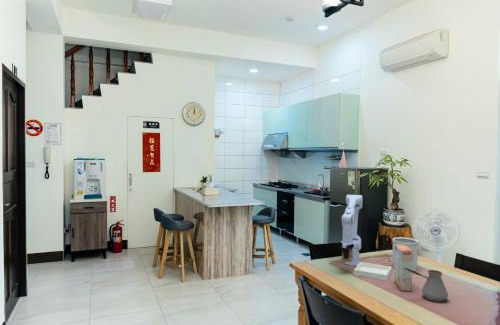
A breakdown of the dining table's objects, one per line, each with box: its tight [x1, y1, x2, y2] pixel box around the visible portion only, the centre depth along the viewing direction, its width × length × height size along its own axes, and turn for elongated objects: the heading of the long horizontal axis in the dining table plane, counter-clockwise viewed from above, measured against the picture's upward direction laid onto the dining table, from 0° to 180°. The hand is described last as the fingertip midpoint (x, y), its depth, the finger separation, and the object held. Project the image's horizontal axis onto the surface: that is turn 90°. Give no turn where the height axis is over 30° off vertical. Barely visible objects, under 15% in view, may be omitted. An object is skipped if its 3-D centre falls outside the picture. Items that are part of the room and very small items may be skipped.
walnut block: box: [341, 249, 353, 262], centre depth 207 cm, size 5×5×6 cm
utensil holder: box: [391, 236, 420, 272], centre depth 217 cm, size 15×15×18 cm
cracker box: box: [394, 244, 413, 292], centre depth 185 cm, size 14×6×21 cm, turn 168°
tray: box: [353, 261, 393, 281], centre depth 206 cm, size 18×18×3 cm
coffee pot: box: [403, 268, 449, 302], centre depth 169 cm, size 21×12×15 cm, turn 93°
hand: (347, 257), depth 207 cm, fingers closed on walnut block, 5 cm apart
